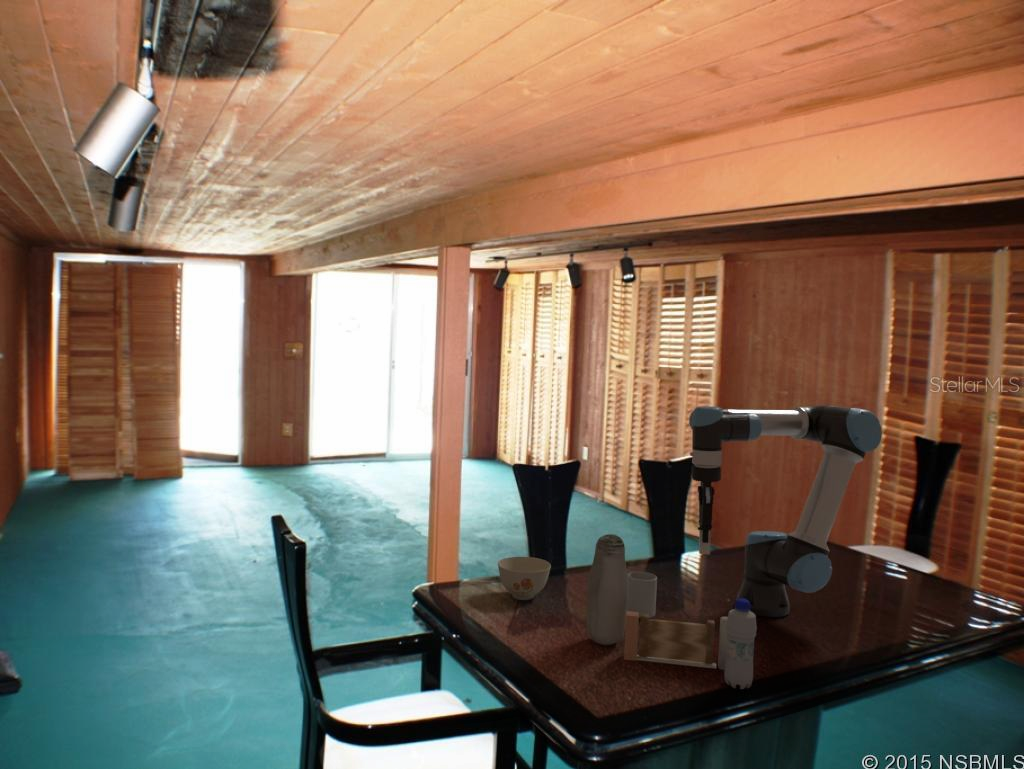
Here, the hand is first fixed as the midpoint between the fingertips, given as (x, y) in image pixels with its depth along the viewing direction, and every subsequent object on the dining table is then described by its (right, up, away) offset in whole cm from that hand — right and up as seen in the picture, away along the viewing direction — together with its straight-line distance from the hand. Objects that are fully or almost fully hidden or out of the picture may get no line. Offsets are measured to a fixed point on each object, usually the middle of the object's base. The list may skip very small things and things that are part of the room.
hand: (704, 553), depth 200 cm
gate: (-11, -22, -16) cm, 30 cm away
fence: (-11, -23, -16) cm, 30 cm away
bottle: (+1, -24, -27) cm, 37 cm away
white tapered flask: (-27, -22, -6) cm, 35 cm away
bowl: (-48, -19, +27) cm, 58 cm away
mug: (-15, -21, +19) cm, 32 cm away
